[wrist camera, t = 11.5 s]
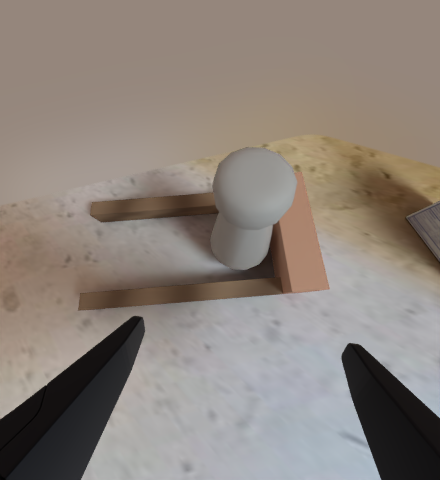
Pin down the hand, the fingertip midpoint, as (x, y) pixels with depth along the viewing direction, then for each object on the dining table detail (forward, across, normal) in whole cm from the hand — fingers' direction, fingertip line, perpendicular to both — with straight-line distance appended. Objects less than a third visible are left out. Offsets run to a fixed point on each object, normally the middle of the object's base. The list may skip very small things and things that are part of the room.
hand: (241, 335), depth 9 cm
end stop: (+14, -5, +2) cm, 15 cm away
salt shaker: (+13, 0, +3) cm, 14 cm away
